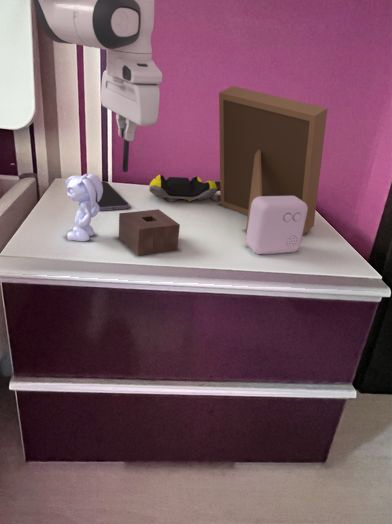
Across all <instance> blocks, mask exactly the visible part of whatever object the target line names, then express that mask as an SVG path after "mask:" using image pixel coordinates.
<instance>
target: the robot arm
mask: <svg viewBox="0 0 392 524" xmlns="http://www.w3.org/2000/svg"><path fill="white" fill-rule="evenodd" d="M32 1H33V4H34V7H35V12H36V15H37V18H38V22H39V24H40V26H41V29H42V31H43V33H44V34H45V35H46V36H47V37H48V38H49V39H50V40H51V41H54V42H55V43H58V44H69V45H79V46H83V47H88V48H93V49H100V50H106V67H105V70H104V71H103V72H102V77H101V85H100V86H101V87H100V103H101V106H102V107H103V108H105V109H107V110H110V111H111V112H113V113H115V121H116V124H117V128H118V129H117V131H118V132H117V133H118V137H120V138H122V139H123V140H124V139H125V140H127V141H129V142H133V141H134V140H135V132H136V130H137V128H138V126H140V127H154V126H155V125H156V124H157V122H158V118H159V112H160V111H159V110H160V98H161V92H160V86H159V85H162V82H163V72H162V71H161V70H160V69H159V67H158V66H157V64H156V63H155V61H154V60H153V47H152V35H153V32H154V28H155V27H154V26H155V25H154V24H155V0H32ZM124 117H125V118H126V124H127V126H126V130H125V131H124Z"/></svg>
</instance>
